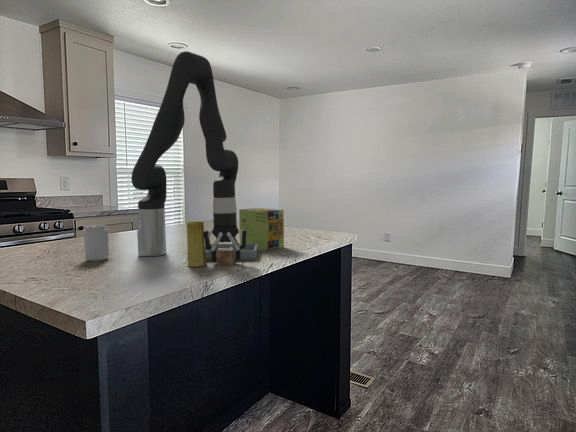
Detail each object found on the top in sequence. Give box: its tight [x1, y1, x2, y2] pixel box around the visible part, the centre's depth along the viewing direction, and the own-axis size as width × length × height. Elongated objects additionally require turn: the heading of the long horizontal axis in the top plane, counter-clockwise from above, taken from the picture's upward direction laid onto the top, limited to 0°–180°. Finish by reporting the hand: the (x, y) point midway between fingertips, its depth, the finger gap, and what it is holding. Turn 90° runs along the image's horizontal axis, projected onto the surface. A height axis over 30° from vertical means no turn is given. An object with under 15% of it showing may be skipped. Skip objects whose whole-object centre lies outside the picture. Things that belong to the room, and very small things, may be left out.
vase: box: [186, 220, 208, 268], centre depth 126 cm, size 6×6×14 cm
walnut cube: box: [216, 248, 235, 267], centre depth 128 cm, size 5×5×5 cm
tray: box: [205, 243, 259, 262], centre depth 141 cm, size 20×15×3 cm
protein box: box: [238, 207, 285, 252], centre depth 158 cm, size 10×15×16 cm
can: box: [83, 224, 110, 262], centre depth 136 cm, size 8×8×12 cm
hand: (226, 261), depth 128 cm, fingers open, 6 cm apart
